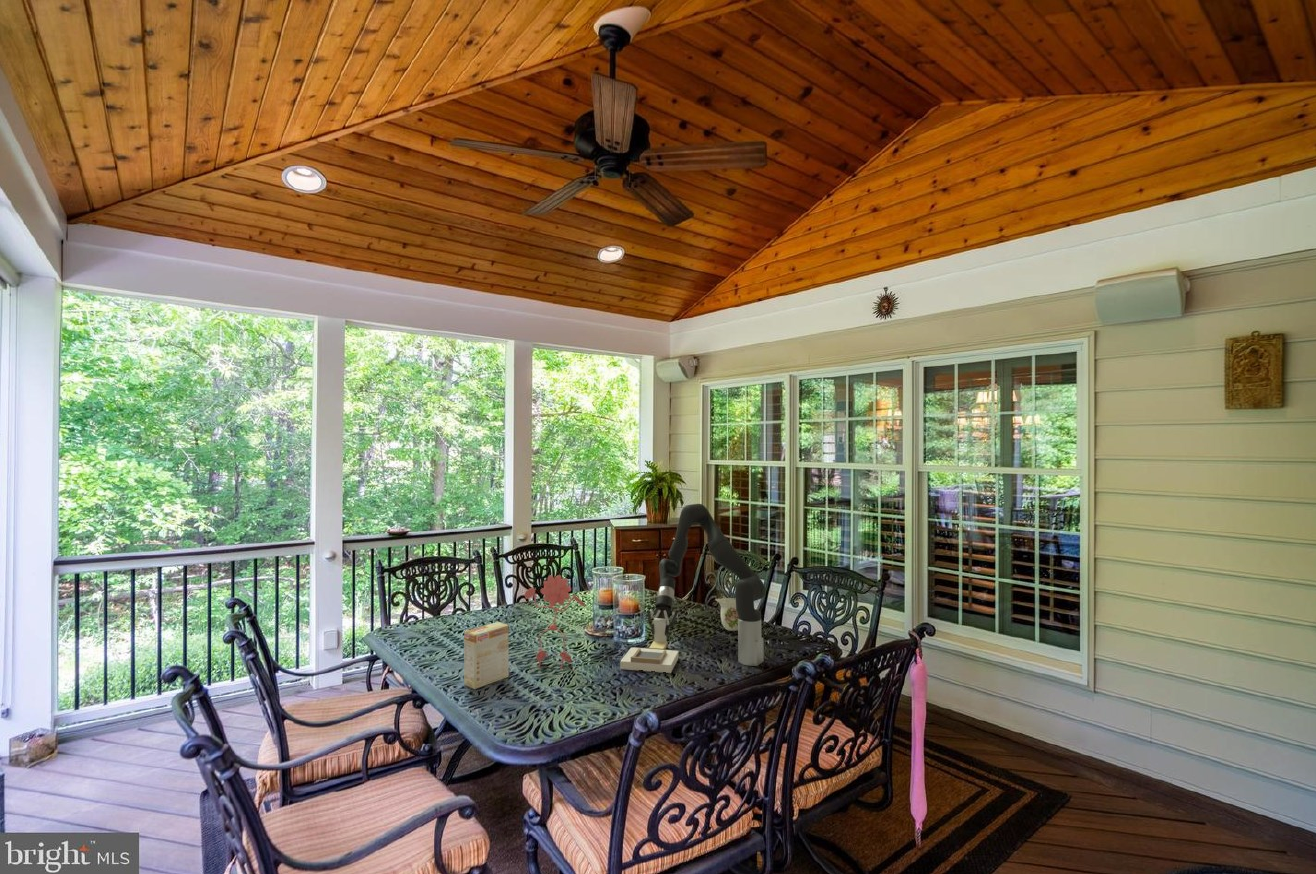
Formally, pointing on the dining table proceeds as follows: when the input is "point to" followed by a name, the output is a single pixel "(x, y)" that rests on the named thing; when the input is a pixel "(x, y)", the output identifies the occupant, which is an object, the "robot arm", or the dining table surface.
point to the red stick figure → (554, 593)
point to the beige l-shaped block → (659, 635)
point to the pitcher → (729, 613)
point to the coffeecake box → (486, 655)
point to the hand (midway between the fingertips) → (659, 634)
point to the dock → (649, 659)
